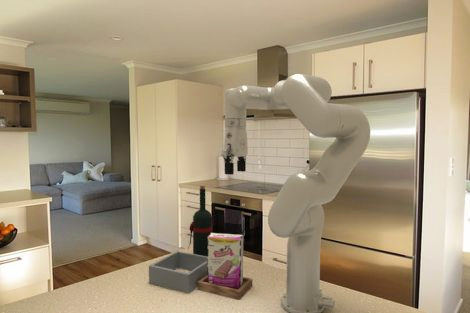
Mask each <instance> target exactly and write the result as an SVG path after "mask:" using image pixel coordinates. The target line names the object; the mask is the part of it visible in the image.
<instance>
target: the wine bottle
mask: <svg viewBox="0 0 470 313" xmlns="http://www.w3.org/2000/svg"><path fill="white" fill-rule="evenodd" d="M199 187H200V188H199V209H198V210H197V211H196V212H194V214H193V216H192V221H191V223H190V225H189V230H190V232H189V233H190V238H189V245H188V247H187V250H186V251H188V249H189V248H190V246H191V245H192V254H197V255H202V256H207V249H208V236H209V235H210V234H211V233H214V232H213V215H212V213H211V212H210V210H208V209H206V185H199Z"/></svg>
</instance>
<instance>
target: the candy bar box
mask: <svg viewBox="0 0 470 313" xmlns="http://www.w3.org/2000/svg"><path fill="white" fill-rule="evenodd" d="M243 277H244V235H243V234H234V233H233V234H232V233H221V232H219V233H218V232H213V233H211V234H210V235H209V236H208V249H207V283H211V284H215V285H220V286H224V287H228V288H238V289H239V288H240V287H241V285H242V283H243Z"/></svg>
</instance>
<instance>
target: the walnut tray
mask: <svg viewBox="0 0 470 313" xmlns="http://www.w3.org/2000/svg"><path fill="white" fill-rule="evenodd" d="M252 287H253V278H250V277H245V276H243V283H242V285H241V287H240V288H239V289H238V288H228V287H224V286H220V285H215V284H211V283H207V275H206V276H205V277H203V278H202V279H201V280H199V281H198V282H197V288H196V289H197V290H199V291H202V292H206V293H211V294H213V295H214V294H215V295H219V296H221V297H222V296H223V297H227V298H231V299H235V300H238V301H239V300H241V299H242V298H243V297H244V295H246V293H247V292H249V290H251V288H252Z"/></svg>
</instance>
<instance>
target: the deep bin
mask: <svg viewBox="0 0 470 313" xmlns="http://www.w3.org/2000/svg"><path fill="white" fill-rule="evenodd" d="M176 269H182V270H187V271H189V272H185V271H179V270H176ZM206 275H207V256H202V255H197V254H193V253H190V252H185V251H180V250H176V251H173V252H172V253H170V254H169V255H167V256H165V257H163V258H161V259H159V260H157V261H155V262H153V263H152V264H149V265H148V283H149V284H151V285H154V286H155V285H156V286H159V287H162V288H167V289H170V290H174V291H177V292H178V291H179V292H182V293H186V294H190V293H191V292H193V291H194V290H195V289H197V282H198V281H199V280H201V279H202V278H203V277H205V276H206Z"/></svg>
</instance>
